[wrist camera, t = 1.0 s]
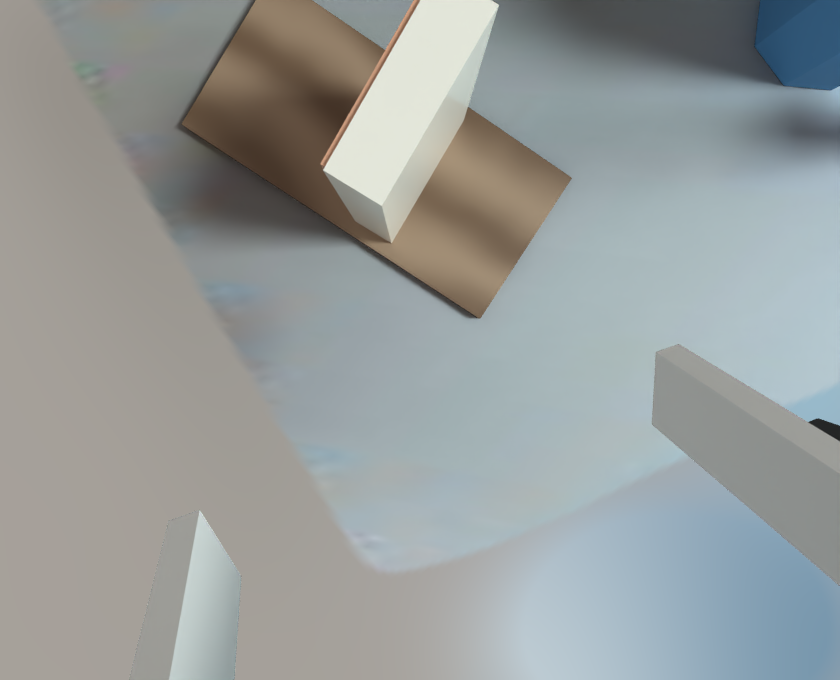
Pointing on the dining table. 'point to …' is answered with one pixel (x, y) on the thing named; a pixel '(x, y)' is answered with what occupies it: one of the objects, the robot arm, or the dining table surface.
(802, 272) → the dining table surface
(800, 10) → the water bottle
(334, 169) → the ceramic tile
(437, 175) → the walnut board
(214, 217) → the dining table surface
